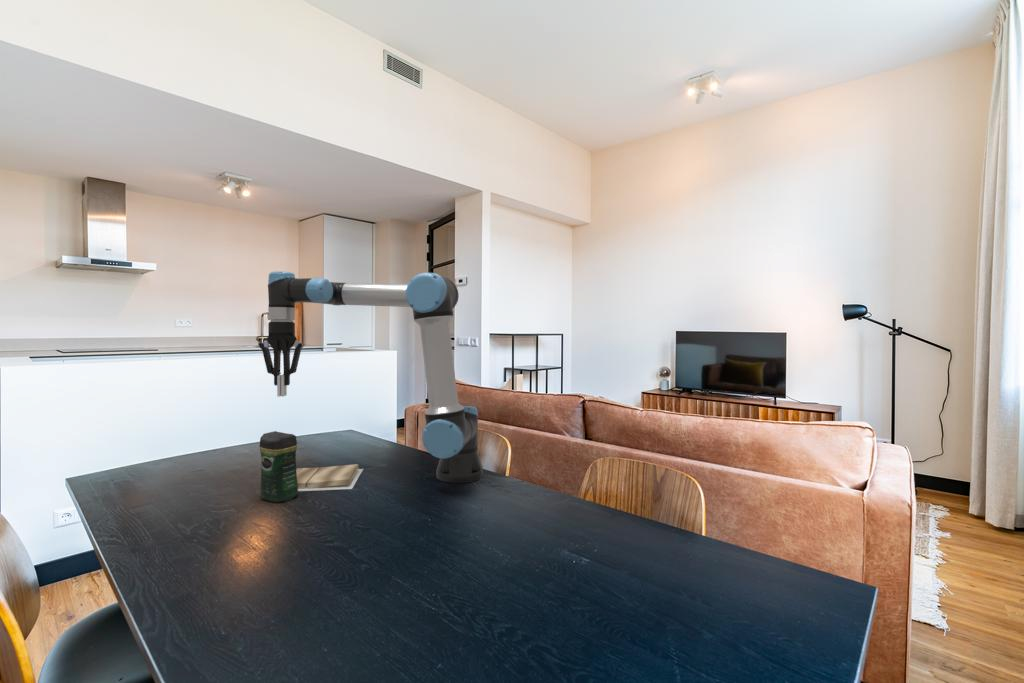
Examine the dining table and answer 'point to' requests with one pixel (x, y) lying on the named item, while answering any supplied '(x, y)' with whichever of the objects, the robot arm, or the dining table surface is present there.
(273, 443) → the coffee jar
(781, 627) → the dining table surface
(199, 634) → the dining table surface
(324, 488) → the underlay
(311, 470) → the laid section
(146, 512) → the dining table surface
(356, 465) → the plank
